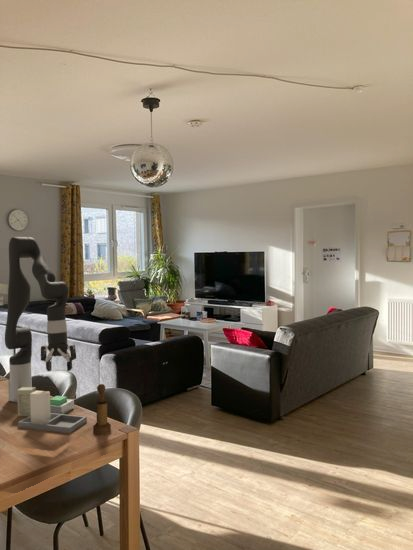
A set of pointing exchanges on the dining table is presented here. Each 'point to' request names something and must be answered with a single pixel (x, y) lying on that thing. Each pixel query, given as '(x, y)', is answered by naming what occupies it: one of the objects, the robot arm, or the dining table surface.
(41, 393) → the block
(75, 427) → the two-section gray tray
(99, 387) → the brown chess piece
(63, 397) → the button
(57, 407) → the button housing
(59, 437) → the dining table surface
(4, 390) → the dining table surface
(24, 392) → the skincare box
